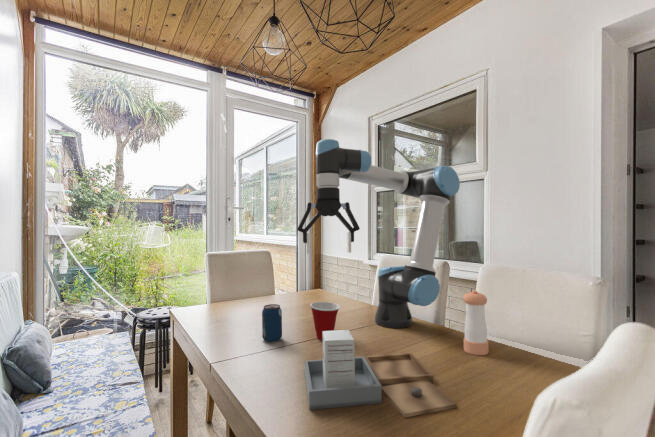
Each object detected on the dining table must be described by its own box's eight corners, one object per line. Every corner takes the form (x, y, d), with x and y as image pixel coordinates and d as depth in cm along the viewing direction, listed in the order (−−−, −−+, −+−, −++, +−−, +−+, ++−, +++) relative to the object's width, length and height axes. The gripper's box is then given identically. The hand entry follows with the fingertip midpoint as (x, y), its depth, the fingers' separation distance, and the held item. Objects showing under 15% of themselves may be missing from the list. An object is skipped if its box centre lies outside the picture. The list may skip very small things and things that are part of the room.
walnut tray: (411, 359, 99) (411, 353, 99) (433, 382, 84) (433, 375, 85) (364, 362, 97) (364, 356, 97) (378, 386, 83) (378, 379, 83)
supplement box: (322, 379, 85) (321, 330, 85) (350, 377, 86) (349, 329, 86) (324, 393, 78) (324, 340, 78) (355, 391, 79) (354, 339, 79)
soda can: (285, 337, 119) (285, 304, 119) (275, 344, 112) (274, 309, 112) (269, 335, 121) (269, 303, 122) (258, 341, 115) (257, 307, 115)
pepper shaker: (487, 347, 107) (485, 289, 107) (490, 356, 100) (488, 293, 100) (462, 345, 109) (461, 287, 110) (464, 353, 102) (463, 292, 103)
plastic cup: (337, 344, 112) (337, 308, 112) (307, 342, 114) (306, 307, 114) (342, 333, 123) (342, 301, 123) (314, 331, 125) (314, 300, 125)
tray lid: (426, 382, 84) (426, 374, 84) (456, 407, 73) (456, 398, 73) (380, 390, 81) (380, 381, 81) (404, 417, 69) (404, 408, 69)
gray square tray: (364, 371, 91) (363, 356, 91) (381, 403, 75) (381, 385, 75) (304, 375, 89) (304, 360, 89) (309, 409, 73) (309, 391, 73)
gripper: (362, 189, 113) (363, 250, 112) (289, 189, 109) (290, 252, 109) (367, 186, 105) (368, 252, 105) (289, 186, 102) (290, 254, 102)
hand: (328, 252), depth 107 cm, fingers open, 13 cm apart
